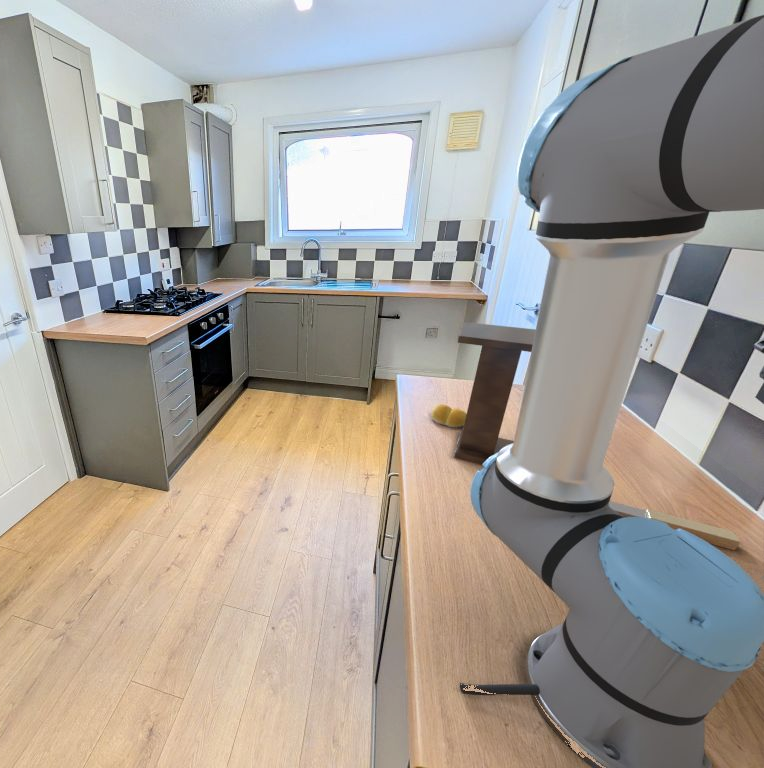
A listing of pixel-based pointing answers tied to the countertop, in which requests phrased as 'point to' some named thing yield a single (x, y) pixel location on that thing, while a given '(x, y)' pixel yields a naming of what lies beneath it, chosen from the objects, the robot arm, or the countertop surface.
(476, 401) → the shelf stand
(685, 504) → the countertop surface
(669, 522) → the kitchen knife
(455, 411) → the bread roll
